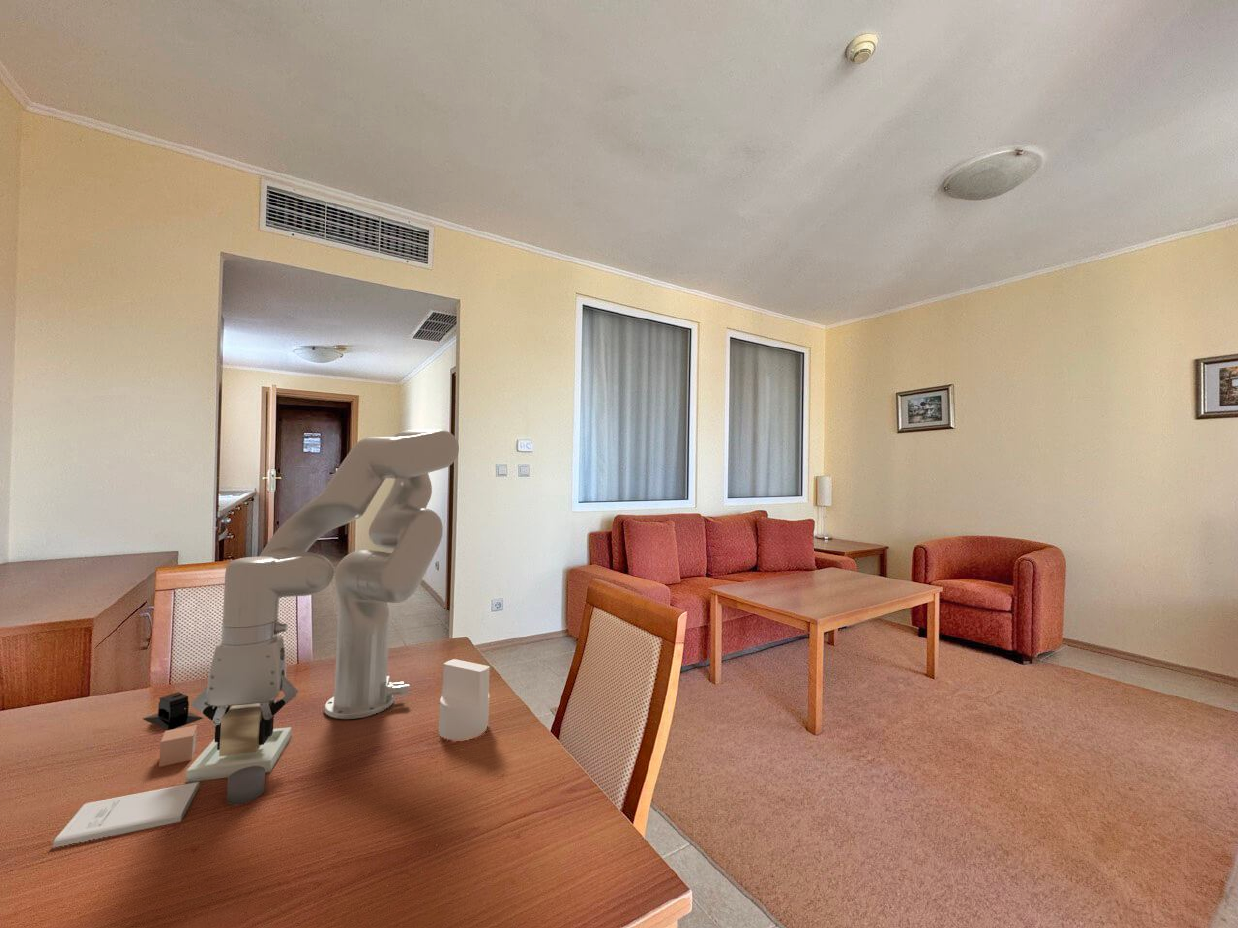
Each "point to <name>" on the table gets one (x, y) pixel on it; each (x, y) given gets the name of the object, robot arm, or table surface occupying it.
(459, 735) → the white rounded pedestal block
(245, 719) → the beech block
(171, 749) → the terracotta cube
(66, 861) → the table surface
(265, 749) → the tray
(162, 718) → the black boxy piece
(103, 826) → the external hard drive
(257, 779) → the grey rounded lump
